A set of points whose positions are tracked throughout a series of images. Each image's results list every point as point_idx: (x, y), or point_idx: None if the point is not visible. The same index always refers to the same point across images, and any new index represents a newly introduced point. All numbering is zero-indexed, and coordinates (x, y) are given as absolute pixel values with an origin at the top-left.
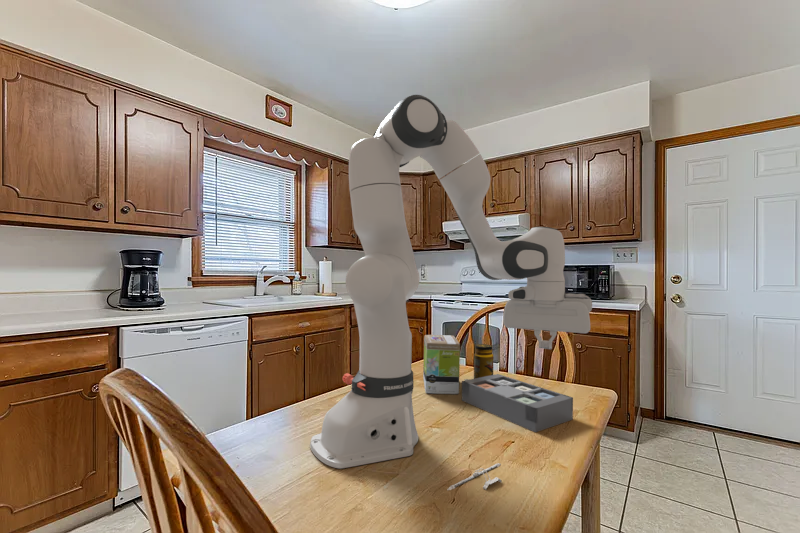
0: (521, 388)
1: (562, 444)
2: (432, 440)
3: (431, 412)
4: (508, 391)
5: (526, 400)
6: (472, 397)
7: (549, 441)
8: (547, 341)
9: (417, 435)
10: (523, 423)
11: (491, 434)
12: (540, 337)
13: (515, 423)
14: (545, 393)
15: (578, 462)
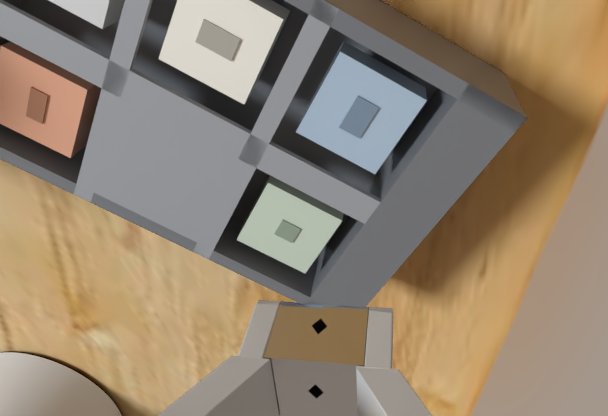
0: (208, 44)
1: (446, 310)
2: (134, 385)
3: (3, 244)
4: (180, 174)
5: (289, 228)
6: None
7: (406, 305)
8: (342, 401)
9: (101, 400)
10: None
11: (238, 318)
12: (242, 402)
13: None
14: (359, 63)
15: (485, 381)
